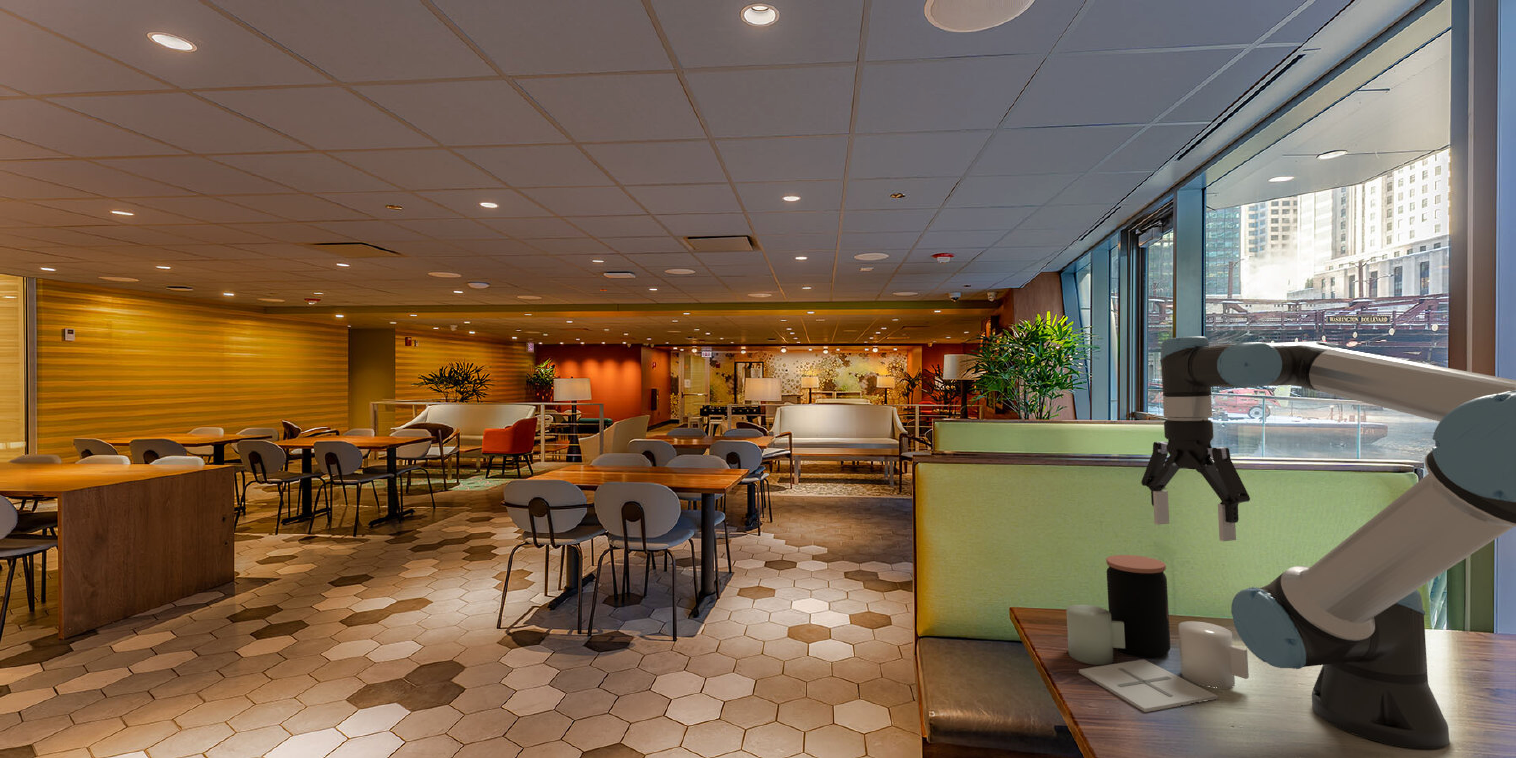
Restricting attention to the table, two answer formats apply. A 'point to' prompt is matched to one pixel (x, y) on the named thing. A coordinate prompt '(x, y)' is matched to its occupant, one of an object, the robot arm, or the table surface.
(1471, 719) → the table surface
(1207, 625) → the mug cream
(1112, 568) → the coffee jar
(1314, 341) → the robot arm
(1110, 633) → the mug sage
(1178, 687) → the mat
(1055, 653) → the table surface
